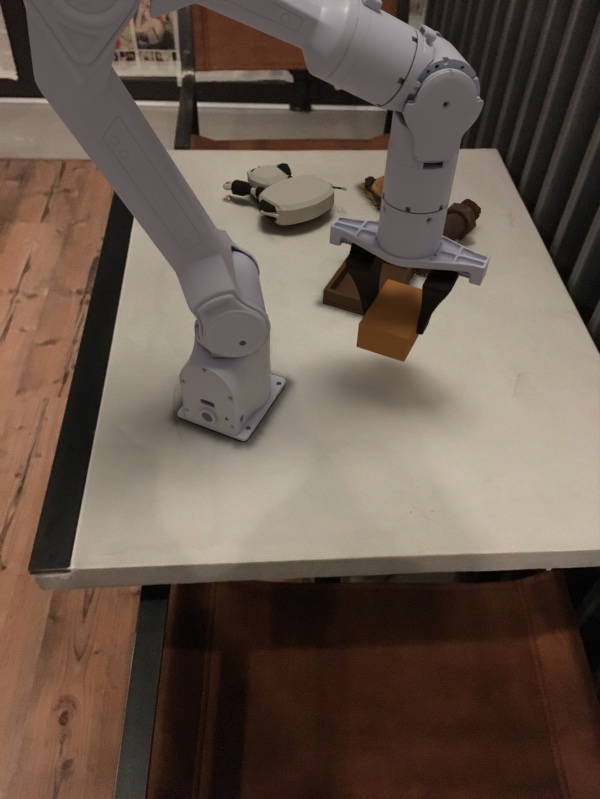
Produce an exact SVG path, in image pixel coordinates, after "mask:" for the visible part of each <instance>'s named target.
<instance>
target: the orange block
mask: <svg viewBox="0 0 600 799" xmlns="http://www.w3.org/2000/svg"><path fill="white" fill-rule="evenodd" d="M421 303H422V288H420V287H416V286H412V285H409V284H408V285H406V284H403V283H400V282H396V281H393V280H389V279H388V280H387V281H386V283H385V284H384V286H383V287H382V289H381V291H380V292H379V294H378V295H377V297H376V298H375V300H374V301H373V303H372V304H371V306H370V307H369V309H368V310H367V312H366V314H365V315H364V317H363V316H362V318H361V320H360V321H359V323H358V328H357V337H356V344H355V345H356V348H358V349H359V348H360V349H362V350H365V351H367V352H371V353H374V354H377V355H381V356H383V357H387V358H389V359H393V360H395V361H399V362H402V363H405V362H406V360H407V358H408V356H409V355H410V352H411V351H412V348H414V345H415V344H416V342H417V340H418V338H419V336H420V334H417V333H416V330H417V322H418V318H419V315H420V311H421Z"/></svg>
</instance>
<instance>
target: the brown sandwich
mask: <svg viewBox="0 0 600 799" xmlns="http://www.w3.org/2000/svg"><path fill="white" fill-rule="evenodd" d="M383 184H384V175H382V176H379V177H377V178H374V176H371V175H369V176H367V177H365V178H364V182H362V183H360V185H359V189H361V190H362V192H363V193H364V194H365V195H366V197H367V198H369V199H370V200H371V201H372V203H373V204H374V205H375V207H377V208H379V209H380V208H381V200H382V192H383Z"/></svg>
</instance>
